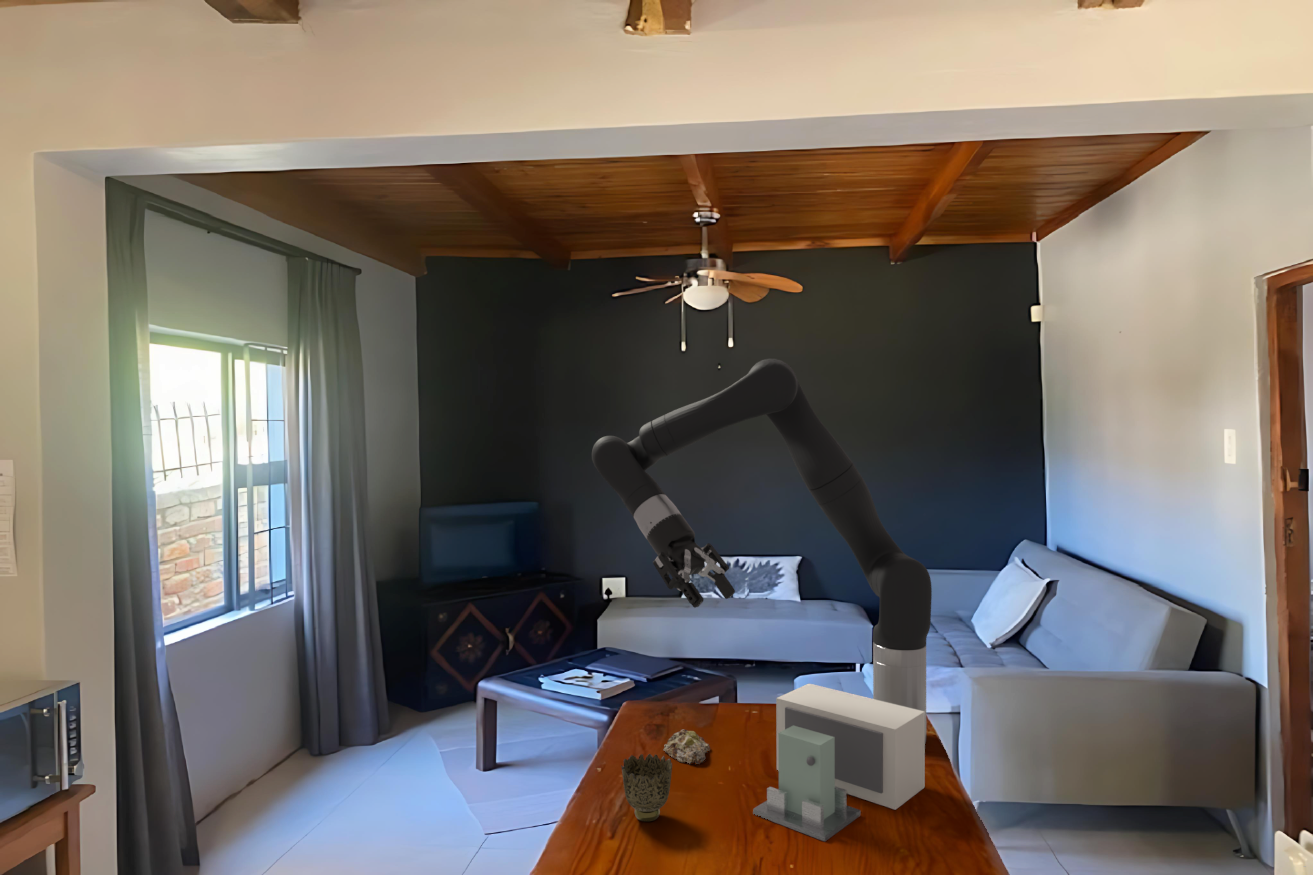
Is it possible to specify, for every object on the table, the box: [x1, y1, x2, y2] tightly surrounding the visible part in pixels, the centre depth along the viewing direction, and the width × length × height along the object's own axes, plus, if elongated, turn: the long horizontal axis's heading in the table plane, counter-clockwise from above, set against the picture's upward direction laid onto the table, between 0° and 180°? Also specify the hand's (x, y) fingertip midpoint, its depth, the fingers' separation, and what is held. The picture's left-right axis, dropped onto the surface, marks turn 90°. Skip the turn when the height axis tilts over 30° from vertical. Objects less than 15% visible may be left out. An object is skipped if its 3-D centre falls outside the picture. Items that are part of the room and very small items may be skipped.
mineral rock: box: [663, 729, 711, 765], centre depth 145 cm, size 11×4×8 cm
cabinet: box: [775, 683, 926, 810], centre depth 134 cm, size 10×21×12 cm, turn 48°
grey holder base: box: [752, 786, 861, 842], centre depth 122 cm, size 10×12×4 cm
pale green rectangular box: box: [778, 725, 835, 819], centre depth 122 cm, size 5×7×11 cm
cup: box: [620, 753, 673, 822], centre depth 122 cm, size 8×7×8 cm
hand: (715, 600), depth 140 cm, fingers open, 8 cm apart
